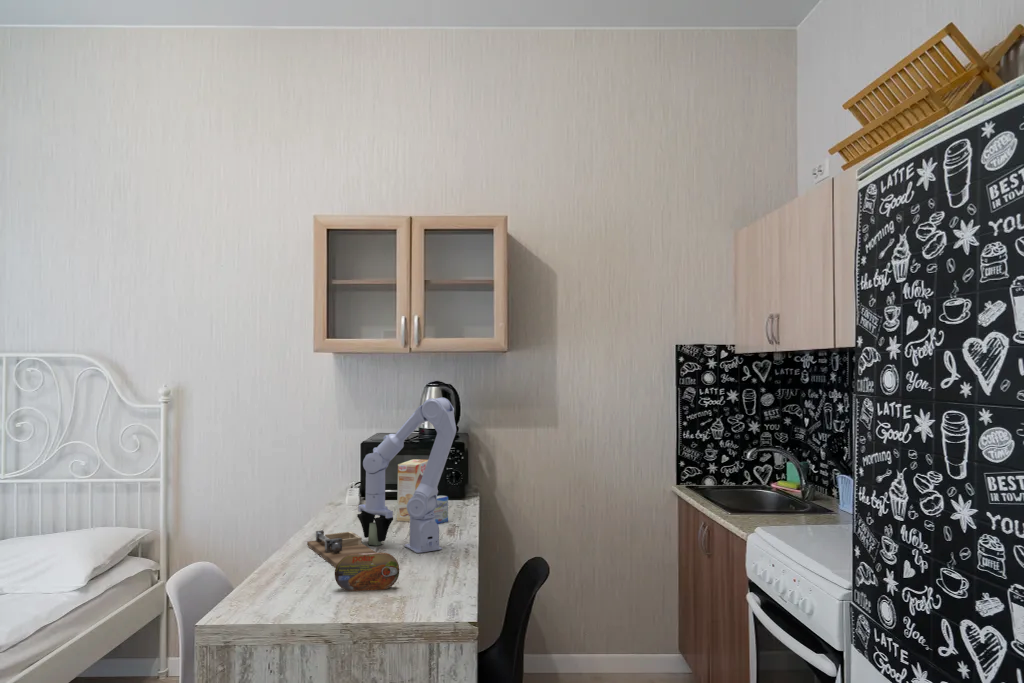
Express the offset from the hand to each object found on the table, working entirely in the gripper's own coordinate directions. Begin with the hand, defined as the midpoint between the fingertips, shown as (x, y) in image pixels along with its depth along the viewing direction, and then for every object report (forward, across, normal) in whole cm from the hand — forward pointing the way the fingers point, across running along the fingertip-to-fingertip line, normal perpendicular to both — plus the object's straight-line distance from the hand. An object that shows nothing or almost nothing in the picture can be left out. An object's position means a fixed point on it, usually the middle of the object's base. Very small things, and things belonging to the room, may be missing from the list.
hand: (374, 539), depth 207 cm
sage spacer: (+2, 0, 0) cm, 2 cm away
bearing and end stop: (0, +4, +14) cm, 14 cm away
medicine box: (+2, +10, -32) cm, 34 cm away
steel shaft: (0, +2, +14) cm, 14 cm away
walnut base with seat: (+2, -2, +12) cm, 12 cm away
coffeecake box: (+2, +22, -32) cm, 39 cm away
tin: (+2, -33, +26) cm, 42 cm away
